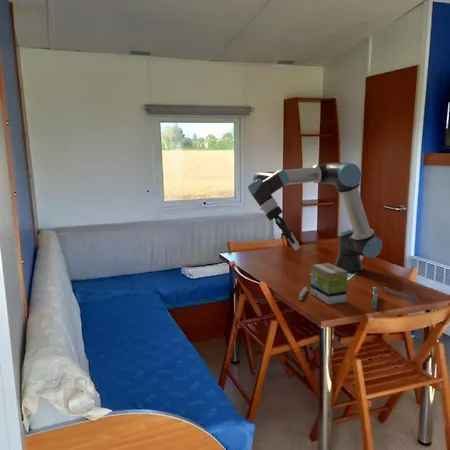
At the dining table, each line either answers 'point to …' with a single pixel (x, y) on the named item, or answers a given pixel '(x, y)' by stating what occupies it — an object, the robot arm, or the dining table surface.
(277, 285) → the dining table surface
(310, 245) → the dining table surface
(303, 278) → the dining table surface
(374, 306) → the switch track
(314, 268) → the tea box
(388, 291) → the combination wrench
